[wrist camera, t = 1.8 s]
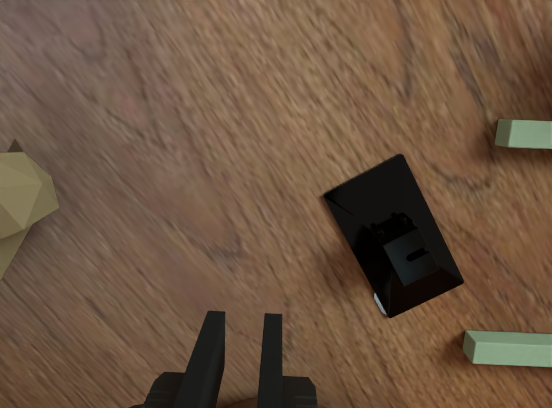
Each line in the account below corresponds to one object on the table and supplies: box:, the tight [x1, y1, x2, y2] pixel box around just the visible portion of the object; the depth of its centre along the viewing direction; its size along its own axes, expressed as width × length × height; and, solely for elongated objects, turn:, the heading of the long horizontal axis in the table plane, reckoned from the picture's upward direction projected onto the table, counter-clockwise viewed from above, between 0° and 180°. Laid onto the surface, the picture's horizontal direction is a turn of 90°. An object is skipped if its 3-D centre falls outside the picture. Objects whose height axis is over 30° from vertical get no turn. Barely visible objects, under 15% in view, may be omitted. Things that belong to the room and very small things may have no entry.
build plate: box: [323, 154, 464, 318], centre depth 32 cm, size 12×7×5 cm, turn 29°
